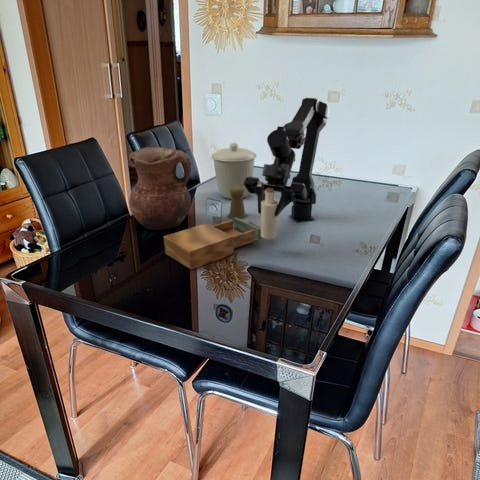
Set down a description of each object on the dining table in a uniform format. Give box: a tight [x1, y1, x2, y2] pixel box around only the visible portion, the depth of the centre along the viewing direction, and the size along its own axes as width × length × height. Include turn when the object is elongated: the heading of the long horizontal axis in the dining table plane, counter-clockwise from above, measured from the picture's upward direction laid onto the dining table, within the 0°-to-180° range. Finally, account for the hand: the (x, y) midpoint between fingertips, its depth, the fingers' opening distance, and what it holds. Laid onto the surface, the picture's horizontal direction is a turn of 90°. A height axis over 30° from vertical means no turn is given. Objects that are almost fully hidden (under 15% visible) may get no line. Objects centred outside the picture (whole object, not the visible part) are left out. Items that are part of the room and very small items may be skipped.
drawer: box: [212, 217, 262, 249], centre depth 143 cm, size 20×13×4 cm
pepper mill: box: [229, 186, 246, 220], centre depth 161 cm, size 6×6×11 cm
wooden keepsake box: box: [163, 223, 235, 270], centre depth 135 cm, size 16×14×6 cm
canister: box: [211, 142, 257, 200], centre depth 177 cm, size 18×18×21 cm
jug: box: [128, 146, 192, 231], centre depth 151 cm, size 22×21×25 cm
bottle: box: [260, 188, 279, 240], centre depth 129 cm, size 5×5×14 cm
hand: (267, 214), depth 128 cm, fingers closed on bottle, 5 cm apart
